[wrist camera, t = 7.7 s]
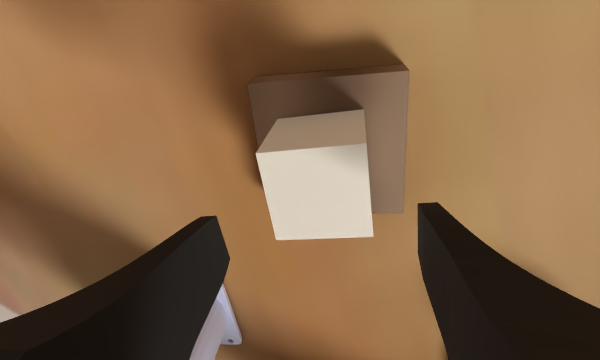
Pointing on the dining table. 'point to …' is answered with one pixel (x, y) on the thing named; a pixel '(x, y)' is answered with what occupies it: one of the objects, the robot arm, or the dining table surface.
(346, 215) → the cream cube
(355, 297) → the dining table surface
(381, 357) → the dining table surface
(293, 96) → the walnut base
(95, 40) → the dining table surface
